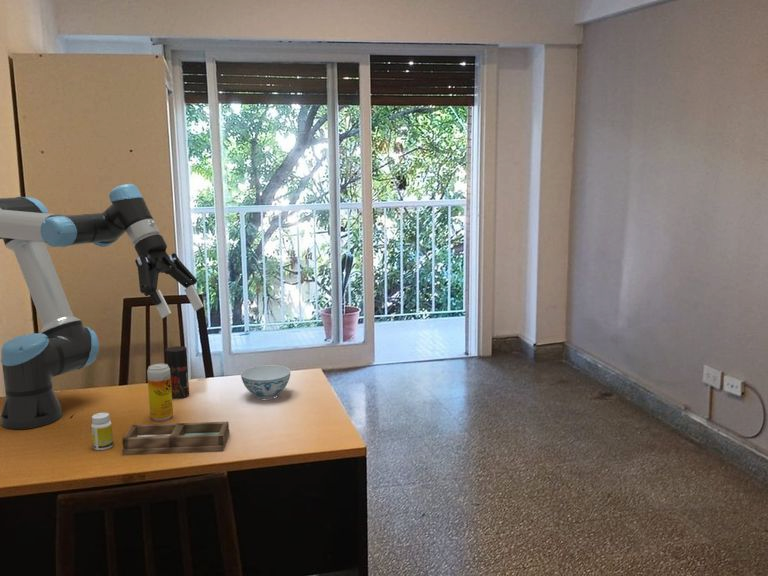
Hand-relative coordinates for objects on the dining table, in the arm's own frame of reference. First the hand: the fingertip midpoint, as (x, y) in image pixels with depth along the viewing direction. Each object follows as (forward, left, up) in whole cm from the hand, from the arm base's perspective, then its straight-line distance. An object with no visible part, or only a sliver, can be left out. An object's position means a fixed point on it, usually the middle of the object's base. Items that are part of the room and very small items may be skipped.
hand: (183, 312), depth 173 cm
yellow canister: (-10, +11, -33) cm, 36 cm away
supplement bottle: (-20, -8, -33) cm, 39 cm away
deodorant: (-9, +29, -33) cm, 45 cm away
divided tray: (-2, -8, -33) cm, 34 cm away
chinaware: (+18, +26, -33) cm, 46 cm away
